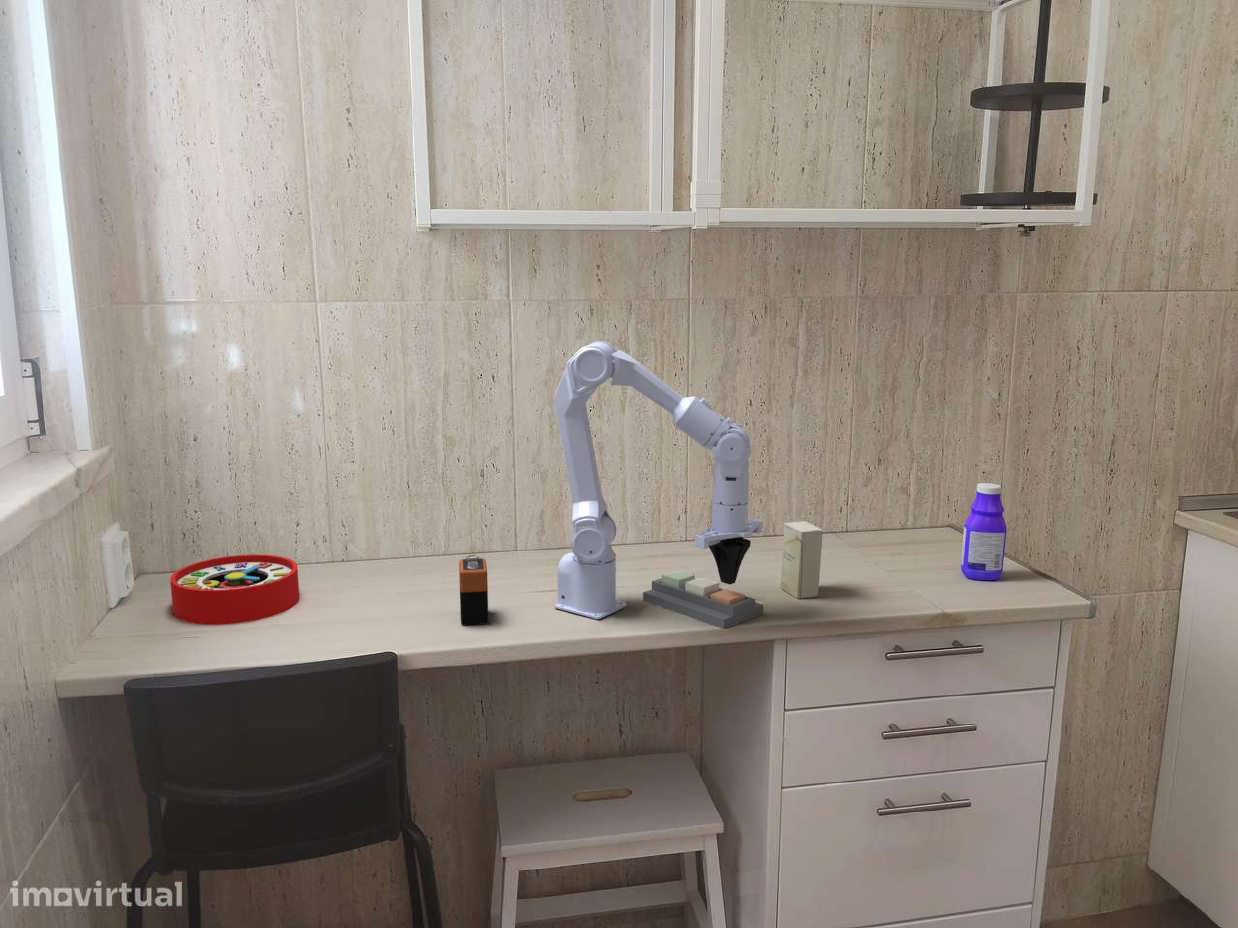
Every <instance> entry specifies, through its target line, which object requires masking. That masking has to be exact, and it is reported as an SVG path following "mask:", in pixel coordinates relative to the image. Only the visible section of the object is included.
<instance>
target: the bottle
mask: <svg viewBox="0 0 1238 928" xmlns="http://www.w3.org/2000/svg"><path fill="white" fill-rule="evenodd" d="M1001 494H1002V485H1000V484H998V483H997V484H996V483H992V482H991V483H990V482H980V483H977V487H976V495H975V499H974V501H973V502H972V504H971V505H970V510H971V512H970V514H969V515H968V517H967V518H966V520H965V522H964V526H963V535H962V536H963V537H962V545H961V546H962V547H961V549H962V550H961V558H960V568H961V572H962V574H963V576H965V577H966V578H968V579H971V580H981V581H982V580H983V581H996V580H998V579H1000V577H1001V576H1002V573H1003V570H1004V561H1005V560H1004V558H1005V552H1006V551H1005V550H1006V549H1005V548H1006V539H1007V531H1008V528H1007V527H1008V526H1007V523H1006V521H1005V518H1004V515H1003V513H1005V508H1004V505H1003V504H1002V499H1001V498H1002V497H1001V496H1002V495H1001Z"/></svg>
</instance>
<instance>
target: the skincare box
mask: <svg viewBox="0 0 1238 928" xmlns="http://www.w3.org/2000/svg"><path fill="white" fill-rule="evenodd" d="M783 524H784V525H783V540H782V541H783V542H782V544H783V545H782V557H781V558H782V559H781V560H782V561H781V575H780V589H781V590H783V591H784V592H786V593H788V594H789V595H791V597H794V598H795V599H797V600H798V599H805V598H806V599H807V598H815V597H818V596H819V589H820V588H819V586H820V585H819V584H820V573H821V572H820V571H821V559H822V549H823V548H822V547H823V546H822V545H823V534H824V533H823V531H824V529H822V528H821V527H819V526H816V525H814V524H812V523H810V522H808V521H806V520H801V521H789V522H788V521H787V522H784V523H783Z"/></svg>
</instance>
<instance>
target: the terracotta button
mask: <svg viewBox="0 0 1238 928" xmlns="http://www.w3.org/2000/svg"><path fill="white" fill-rule="evenodd" d="M723 589H724V590H721V591H718V592H716V593H713V594H710V599H713V600H716V601H719V602H722V603H725V604H729V605H730V604H733V603H736V602H739V601H741V600H744V599H745V596H746V594H744V593H741V592H738V591H735V590H731V589H728V588H723Z"/></svg>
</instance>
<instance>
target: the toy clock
mask: <svg viewBox="0 0 1238 928" xmlns="http://www.w3.org/2000/svg"><path fill="white" fill-rule="evenodd" d="M169 579H170V593H171V604H172V605H171V606H172V612H173V616H175V617H176V618H177V619H179V620H181V621H183V622H187V623H190V624H196V625H197V624H199V625H212V626H213V625H214V626H216V625H231V624H241V623H247V622H248V623H249V622H254V621H259V620H263V619H267V618H270V617H273V616H277V615H279V614H281V613H284V612H286V611H288V610H290V609H291V608H293V607H294V606H296V605H297V604H298V603H299V601H300V584H299V572H298V563H297V562H295V560H293V559H290V557H289V558H288V557H285V556H282V555H281V556H280V555H273V554H264V553H263V554H261V553H259V554H258V553H257V554H256V553H255V554H253V553H252V554H250V553H249V554H235V555H226V556H220V557H213V558H209V559H205V560H200V561H197V562H194V563H191V564H187V565H185V566H183V567H181V568H179V569H178V570H176V571H174V572H173V573H172V574H171V575H170V578H169Z"/></svg>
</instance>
